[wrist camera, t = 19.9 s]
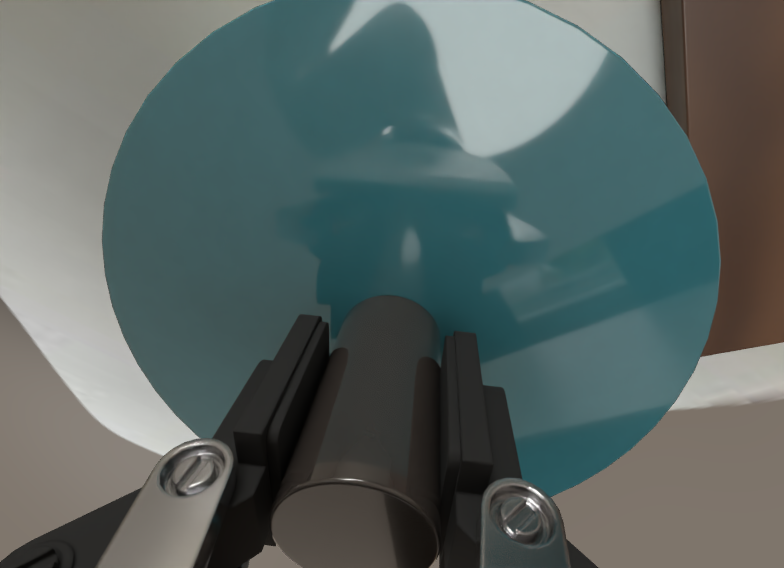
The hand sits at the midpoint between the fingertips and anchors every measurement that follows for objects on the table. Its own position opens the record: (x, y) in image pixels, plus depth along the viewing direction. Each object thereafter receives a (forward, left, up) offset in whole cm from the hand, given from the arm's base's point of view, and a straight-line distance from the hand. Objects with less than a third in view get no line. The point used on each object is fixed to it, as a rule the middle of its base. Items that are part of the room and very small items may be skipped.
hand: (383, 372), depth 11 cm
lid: (0, 0, -2) cm, 2 cm away
